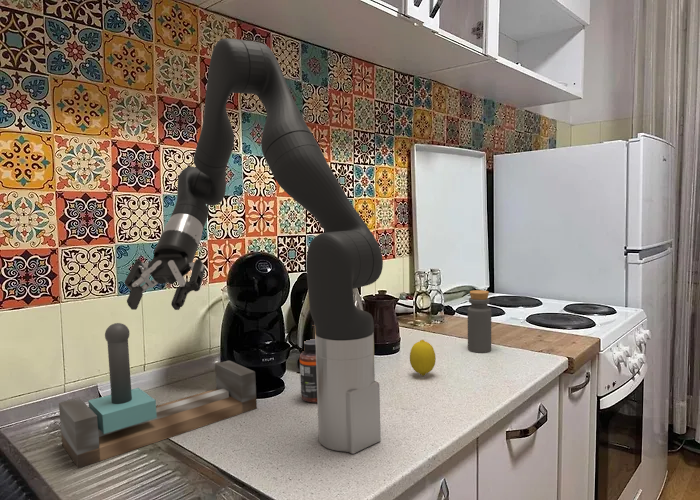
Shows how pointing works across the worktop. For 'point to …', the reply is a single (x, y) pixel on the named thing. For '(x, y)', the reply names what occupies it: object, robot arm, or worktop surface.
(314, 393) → the supplement bottle
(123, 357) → the carriage
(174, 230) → the robot arm
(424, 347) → the lemon
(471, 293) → the bottle
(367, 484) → the worktop surface
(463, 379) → the worktop surface
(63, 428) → the rail
